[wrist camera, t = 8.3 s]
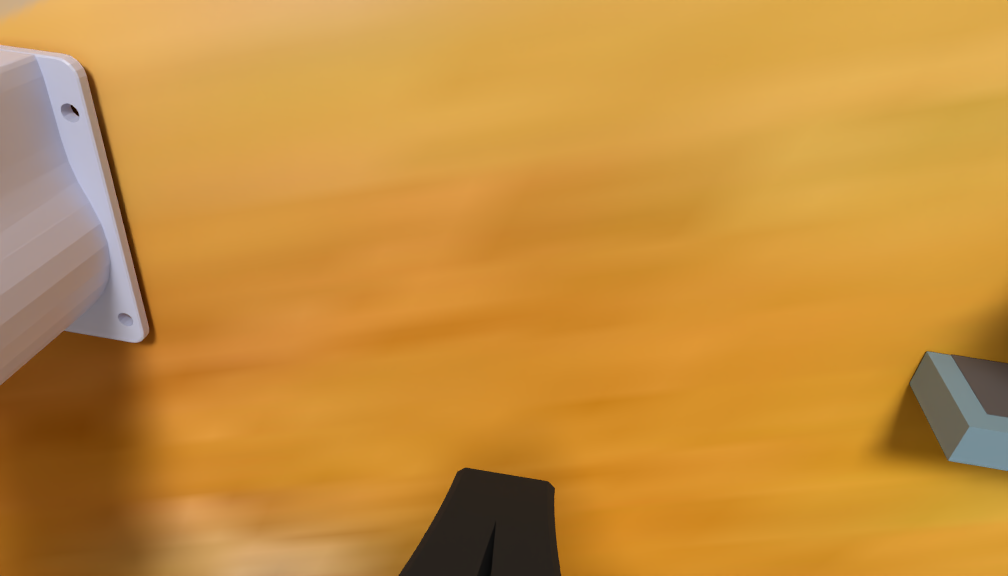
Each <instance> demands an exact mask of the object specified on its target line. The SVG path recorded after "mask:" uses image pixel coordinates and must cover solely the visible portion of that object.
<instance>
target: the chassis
mask: <svg viewBox="0 0 1008 576" xmlns="http://www.w3.org/2000/svg"><path fill="white" fill-rule="evenodd" d="M909 384H910V386H911V388H912V390H913V392H914V394H915V396H916V398H917V400H918V402H919V404H920V406H921V408H922V410H923V412H924V414H925V416H926V418H927V420H928V422H929V424H930V426H931V428H932V430H933V432H934V434H935V436H936V438H937V440H938V442H939V444H940V446H941V448H942V450H943V452H944V454H945V456H946V458H947V460H948V461H953V462H959V463H964V464H970V465H976V466H982V467H988V468H994V469H1000V470H1005V471H1008V363H1001V362H995V361H989V360H982V359H976V358H970V357H963V356H957V355H947V354H941V353H934V352H928V351H927V352H926V354H925V356H924V357H923V359H922V361H921V363H920V365H919V367H918V369H917V370H916V372H915V374H914V376H913V378H912V380H911V382H910V383H909Z"/></svg>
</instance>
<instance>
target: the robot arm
mask: <svg viewBox="0 0 1008 576" xmlns="http://www.w3.org/2000/svg"><path fill="white" fill-rule="evenodd" d="M71 105H73V106H74V107H75V108H76V109H77V111H78V113H79V116H77V115H76V114H75V113H74V112H73V111H72V109H71ZM127 314H128V315H129V316H130V317H131V318H130V317H129V316H128V315H127ZM63 331H69V332H75V333H81V334H86V335H92V336H98V337H104V338H109V339H115V340H121V341H127V342H132V343H138V342H140V341H142V340H143V339H144V338H145V337H146V336H147V335H148V333H149V326H148V322H147V318H146V313H145V309H144V305H143V301H142V297H141V293H140V289H139V285H138V281H137V277H136V273H135V269H134V265H133V261H132V257H131V253H130V249H129V245H128V241H127V237H126V233H125V229H124V225H123V221H122V216H121V212H120V208H119V204H118V200H117V196H116V192H115V188H114V184H113V180H112V176H111V172H110V168H109V164H108V160H107V156H106V152H105V148H104V144H103V140H102V136H101V132H100V128H99V124H98V120H97V115H96V111H95V107H94V103H93V99H92V95H91V91H90V87H89V83H88V79H87V75H86V73H85V70H84V68H83V67H82V65H81V64H80V63H79V62H78V61H77V60H76V59H74V58H73V57H72V56H69V55H66V54H62V53H54V52H47V51H40V50H33V49H25V48H18V47H11V46H4V45H0V385H1V384H3V383H4V382H5V381H6V380H7V379H8V378H9V377H11V376H12V375H13V374H14V373H15V372H16V371H18V370H19V369H20V368H21V367H22V366H23V365H25V364H26V363H27V362H28V361H29V360H30V359H31V358H33V357H34V356H35V355H36V354H37V353H38V352H40V351H41V350H42V349H43V348H44V347H45V346H47V345H48V344H49V343H50V342H51V341H52V340H54V339H55V338H56V337H57V336H58V335H59V334H60V333H62V332H63ZM554 493H555V488H554V487H553V486H552V485H551V484H550V483H549V482H548V481H542V480H536V479H530V478H524V477H518V476H512V475H506V474H500V473H494V472H488V471H482V470H476V469H470V468H464V469H462V470H460V471H458V472H457V474H456V476H455V478H454V480H453V483H452V485H451V487H450V489H449V491H448V493H447V495H446V497H445V499H444V501H443V503H442V505H441V507H440V509H439V511H438V513H437V514H436V516H435V518H434V520H433V521H432V523H431V525H430V527H429V528H428V530H427V532H426V533H425V535H424V537H423V538H422V540H421V542H420V543H419V545H418V547H417V548H416V550H415V552H414V553H413V555H412V556H411V558H410V559H409V561H408V562H407V564H406V565H405V567H404V568H403V570H402V571H401V573H400V574H399V576H561V573H560V565H559V558H558V551H557V542H556V532H555V517H554Z"/></svg>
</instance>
